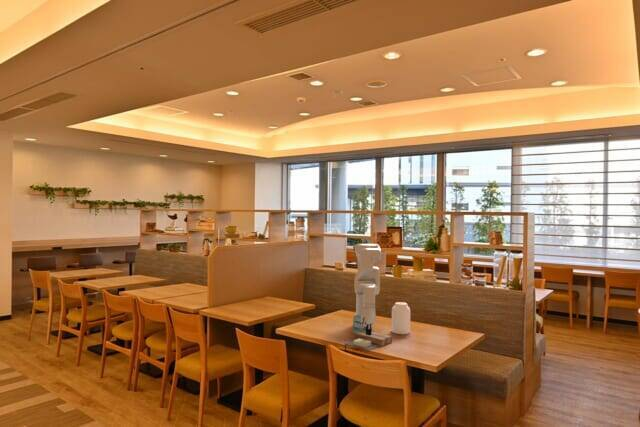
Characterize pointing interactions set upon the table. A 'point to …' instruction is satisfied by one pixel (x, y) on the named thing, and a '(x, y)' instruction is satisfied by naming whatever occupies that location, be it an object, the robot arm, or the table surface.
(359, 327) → the data package
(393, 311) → the can
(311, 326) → the table surface
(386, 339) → the block
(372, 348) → the mat
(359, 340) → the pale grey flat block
